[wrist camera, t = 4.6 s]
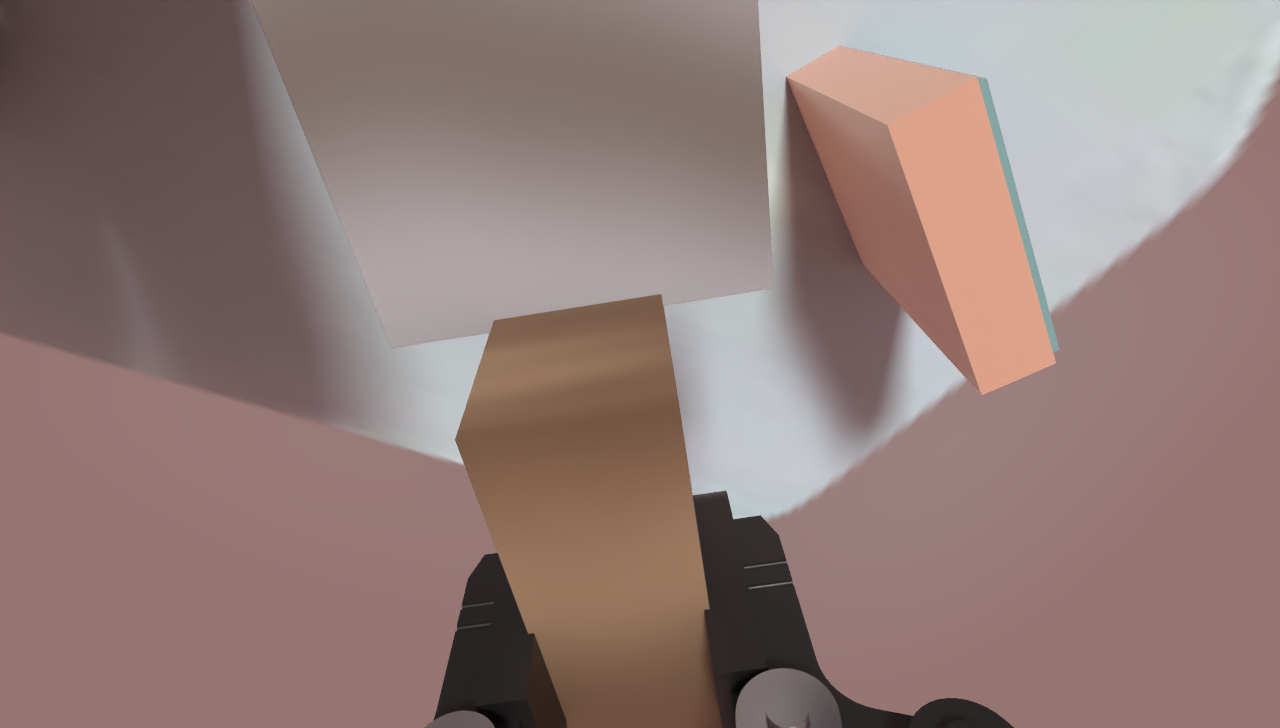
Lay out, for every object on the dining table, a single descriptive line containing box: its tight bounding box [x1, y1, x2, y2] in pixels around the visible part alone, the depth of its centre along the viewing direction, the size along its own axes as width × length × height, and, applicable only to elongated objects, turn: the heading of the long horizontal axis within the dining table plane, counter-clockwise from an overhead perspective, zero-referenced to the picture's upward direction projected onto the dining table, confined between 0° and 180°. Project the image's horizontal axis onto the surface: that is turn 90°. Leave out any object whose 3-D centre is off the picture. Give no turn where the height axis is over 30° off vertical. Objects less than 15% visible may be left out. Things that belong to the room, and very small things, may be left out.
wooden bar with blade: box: [251, 0, 773, 728], centre depth 11 cm, size 18×6×4 cm, turn 9°
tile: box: [786, 46, 1059, 395], centre depth 20 cm, size 2×8×10 cm, turn 29°
